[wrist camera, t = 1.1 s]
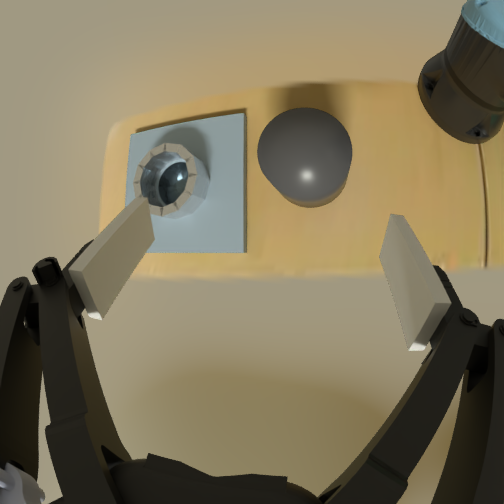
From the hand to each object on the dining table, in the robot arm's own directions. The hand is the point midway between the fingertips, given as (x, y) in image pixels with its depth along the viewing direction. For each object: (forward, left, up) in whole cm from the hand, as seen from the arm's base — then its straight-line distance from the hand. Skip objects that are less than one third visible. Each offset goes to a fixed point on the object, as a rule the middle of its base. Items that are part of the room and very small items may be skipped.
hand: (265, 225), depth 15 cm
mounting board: (+18, +7, -24) cm, 31 cm away
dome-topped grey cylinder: (+5, -7, -24) cm, 25 cm away
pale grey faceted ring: (+18, +7, -23) cm, 30 cm away
